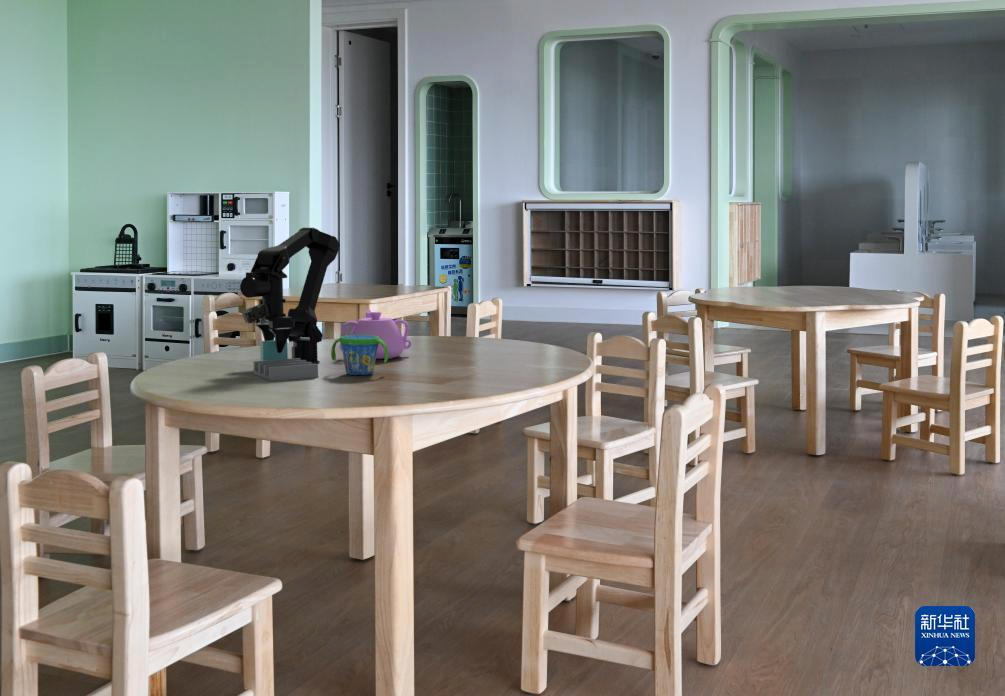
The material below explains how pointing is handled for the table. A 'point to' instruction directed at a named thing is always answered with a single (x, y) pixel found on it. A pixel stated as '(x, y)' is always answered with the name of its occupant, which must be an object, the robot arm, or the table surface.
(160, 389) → the table surface
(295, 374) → the dish rack
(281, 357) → the tall teal box
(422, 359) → the table surface
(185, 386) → the table surface
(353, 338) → the snack cup
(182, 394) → the table surface
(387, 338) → the teapot
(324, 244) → the robot arm
